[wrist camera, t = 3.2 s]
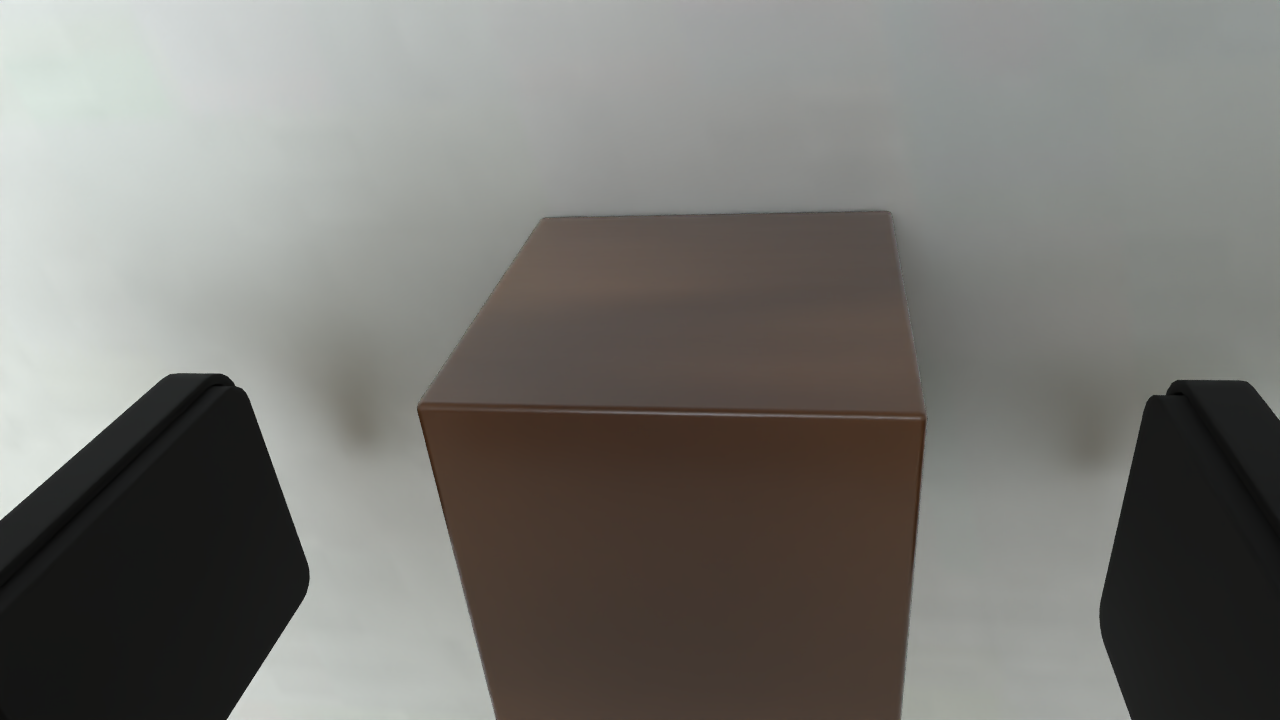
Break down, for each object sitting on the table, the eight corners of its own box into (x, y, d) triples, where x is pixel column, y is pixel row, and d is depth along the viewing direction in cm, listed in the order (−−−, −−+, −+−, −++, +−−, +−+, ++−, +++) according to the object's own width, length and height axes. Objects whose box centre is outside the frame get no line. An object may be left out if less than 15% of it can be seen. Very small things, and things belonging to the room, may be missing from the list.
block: (892, 209, 10) (928, 416, 7) (876, 494, 12) (898, 765, 9) (540, 215, 11) (411, 405, 7) (581, 483, 13) (495, 729, 9)
